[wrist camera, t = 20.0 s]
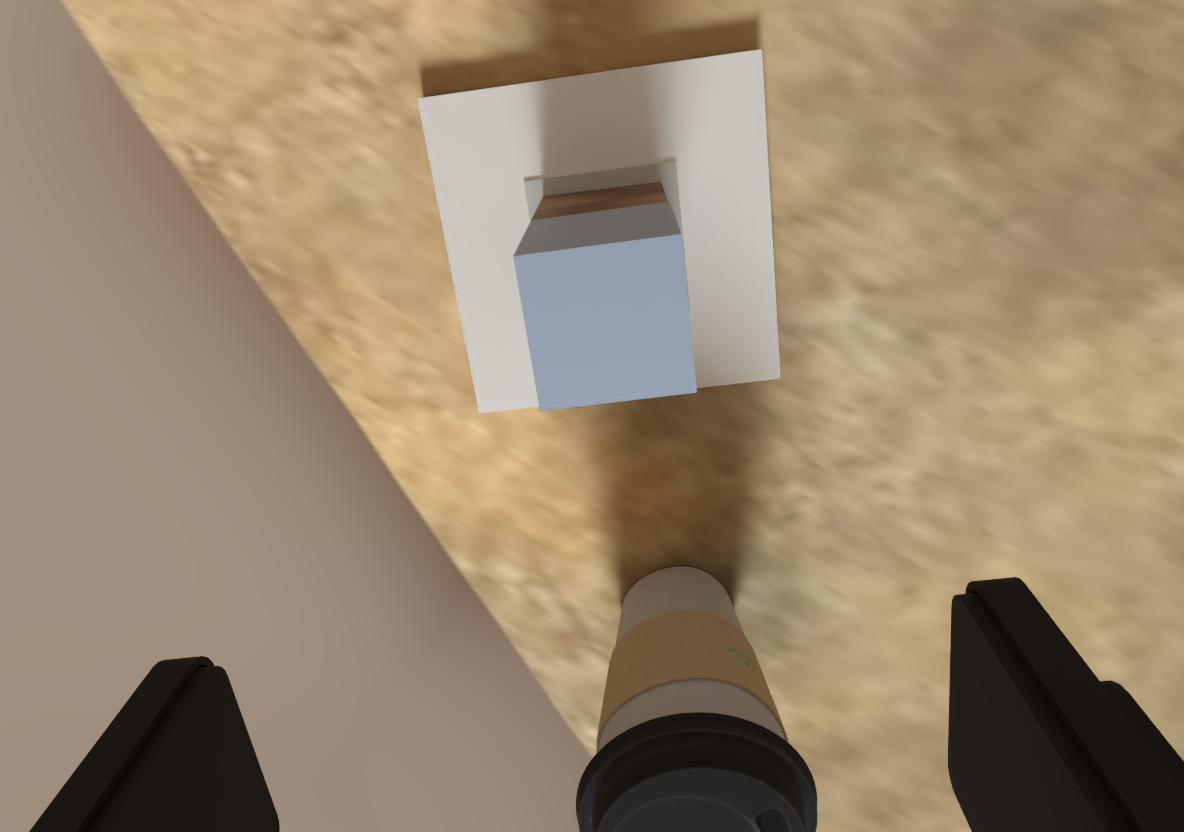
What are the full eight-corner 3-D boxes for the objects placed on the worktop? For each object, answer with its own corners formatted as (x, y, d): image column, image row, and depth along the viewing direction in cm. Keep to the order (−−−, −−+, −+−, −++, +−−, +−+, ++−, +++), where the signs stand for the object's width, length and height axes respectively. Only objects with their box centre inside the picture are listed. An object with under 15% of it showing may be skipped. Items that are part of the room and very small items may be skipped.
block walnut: (661, 181, 37) (669, 204, 31) (671, 297, 39) (681, 338, 33) (543, 196, 37) (530, 221, 32) (559, 310, 39) (549, 353, 34)
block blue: (670, 201, 31) (681, 233, 26) (683, 335, 33) (696, 392, 28) (531, 220, 32) (513, 256, 26) (552, 351, 34) (539, 411, 28)
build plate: (757, 49, 36) (762, 49, 35) (776, 369, 41) (781, 379, 40) (423, 97, 37) (416, 98, 36) (482, 404, 42) (478, 414, 41)
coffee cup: (802, 605, 46) (881, 842, 32) (681, 713, 49) (706, 972, 35) (668, 501, 44) (692, 707, 30) (550, 620, 47) (522, 857, 33)
